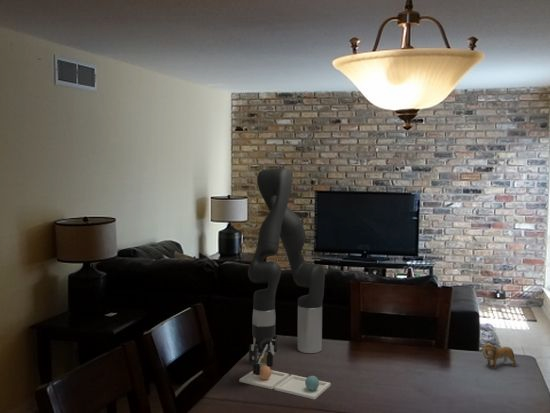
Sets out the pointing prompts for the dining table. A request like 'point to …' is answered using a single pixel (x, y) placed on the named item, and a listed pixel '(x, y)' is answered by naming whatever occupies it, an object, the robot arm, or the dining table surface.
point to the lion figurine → (497, 354)
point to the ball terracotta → (265, 372)
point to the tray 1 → (266, 383)
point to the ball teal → (312, 383)
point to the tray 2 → (301, 387)
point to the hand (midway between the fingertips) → (263, 370)
